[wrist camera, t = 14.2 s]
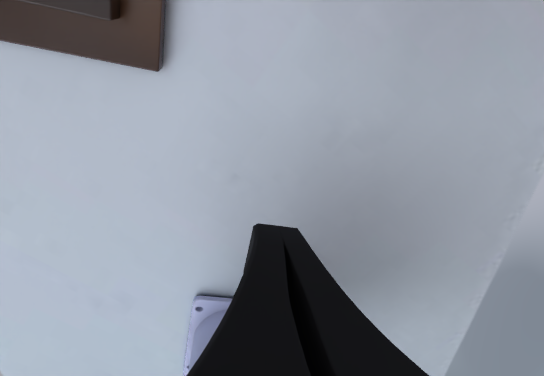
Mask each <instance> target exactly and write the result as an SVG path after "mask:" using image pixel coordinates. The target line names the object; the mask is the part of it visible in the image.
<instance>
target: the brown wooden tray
mask: <svg viewBox="0 0 544 376" xmlns="http://www.w3.org/2000/svg"><path fill="white" fill-rule="evenodd" d="M165 1H166V0H0V41H5V42H10V43H15V44H20V45H25V46H31V47H36V48H41V49H46V50H51V51H56V52H61V53H66V54H71V55H76V56H81V57H86V58H91V59H96V60H101V61H106V62H111V63H116V64H121V65H127V66H132V67H137V68H142V69H147V70H152V71H157V72H158V71H160V70H161V69H162V59H163V40H164V20H165Z"/></svg>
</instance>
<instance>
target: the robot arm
mask: <svg viewBox="0 0 544 376" xmlns="http://www.w3.org/2000/svg"><path fill="white" fill-rule="evenodd" d="M183 375H184V376H429V375H428V374H427V373H425V372H424V371H423V370H422V369H421V368H419V367H418V366H417V365H416V364H415V363H414V362H413V361H412V360H410V359H409V358H408V357H407V356H406V355H405V354H404V353H403V352H401V351H400V350H399V349H398V348H397V347H396V346H395V345H394V344H393V343H392V342H391V341H390V340H388V339H387V338H386V337H385V336H384V335H383V334H382V333H381V332H380V331H379V330H378V329H377V328H376V327H375V326H374V325H373V323H372V322H371V321H370V320H369V319H368V318H367V317H366V316H365V315H364V314H363V313H362V312H361V311H360V310H359V309H358V308H357V306H356V305H355V304H354V303H353V302H352V301H351V299H350V298H349V297H348V296H347V295H346V294H345V292H344V291H343V290H342V289H341V288H340V286H339V285H338V284H337V283H336V281H335V280H334V279H333V277H332V276H331V275H330V274H329V272H328V271H327V270H326V268H325V267H324V266H323V264H322V263H321V261H320V260H319V259H318V257H317V256H316V254H315V253H314V251H313V250H312V249H311V247H310V246H309V244H308V243H307V241H306V240H305V238H304V237H303V236H302V234H301V233H300V231H299V230H298V228H291V227H283V226H275V225H267V224H256V225H255V226H253V231H252V235H251V240H250V245H249V249H248V254H247V258H246V263H245V267H244V274H243V276H242V279H241V281H240V283H239V286H238V288H237V290H236V293H235V295H234V297H233V298H222V297H211V296H196V297H195V298H194V300H193V306H192V313H191V320H190V327H189V334H188V341H187V348H186V355H185V362H184V369H183Z"/></svg>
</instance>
